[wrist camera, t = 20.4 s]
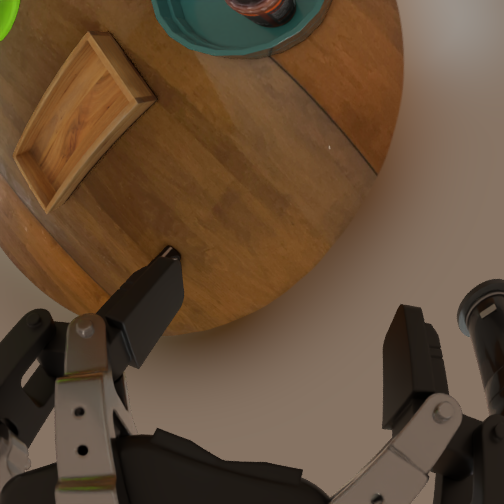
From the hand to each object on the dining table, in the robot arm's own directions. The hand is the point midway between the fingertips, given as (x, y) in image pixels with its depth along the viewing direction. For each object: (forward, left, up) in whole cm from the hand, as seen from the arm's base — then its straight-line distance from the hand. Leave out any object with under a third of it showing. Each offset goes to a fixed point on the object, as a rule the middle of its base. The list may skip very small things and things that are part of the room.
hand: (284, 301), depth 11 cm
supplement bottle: (+8, -17, -30) cm, 35 cm away
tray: (+40, -1, -30) cm, 50 cm away
